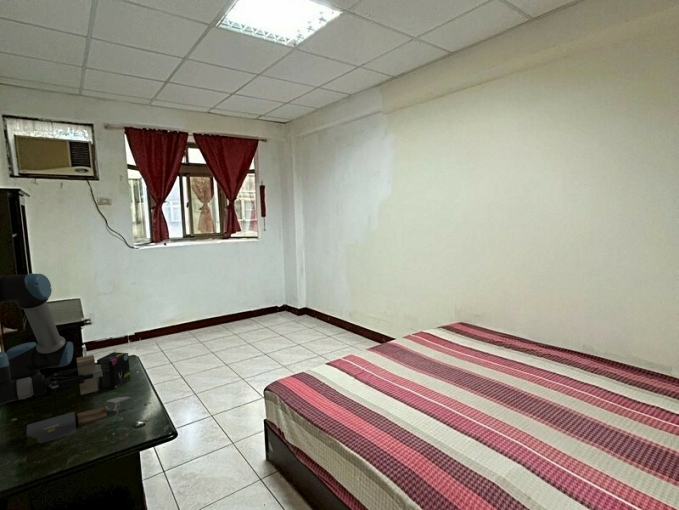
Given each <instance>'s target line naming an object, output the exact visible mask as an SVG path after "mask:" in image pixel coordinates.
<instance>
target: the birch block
mask: <svg viewBox="0 0 679 510" xmlns="http://www.w3.org/2000/svg"><path fill="white" fill-rule="evenodd" d="M95 359H96V358H95V356H94V354H90V355H85V356H80V357H76V365H77V367H76V368H78V376H79V375H83V376H84V374H85V373H89V372H93V371H96V367H95V366H96V360H95ZM97 378H98V377H97ZM97 378H93V379H89V380H85V381H84V383H81V384H79V391H80V392H79V393H80V396H82V395H86V394H89V393H93V392H98V391H99V386H98V379H97Z"/></svg>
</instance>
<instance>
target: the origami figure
mask: <svg viewBox="0 0 679 510" xmlns="http://www.w3.org/2000/svg"><path fill="white" fill-rule="evenodd" d="M129 400H131V401H133V402H134V403H132V404H131V409H134V407H133V406H134V405H136V403H138V402H137V401H136V400H135V399H134V398H133V397H132V396H120V397H117V396H116V397H114V398H111V399H108V400H105V404H104V406H105V409H107V411H110V408H109V407H108V403H109V404H114V408H113V410H112V411H113V412H116V413H115V414H114V415H115V416H116V415H118V414H119V412H120V410H118V409H117V408H120V406H121V405H120V404H121V403H123V402H126V401H129Z"/></svg>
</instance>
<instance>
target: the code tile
mask: <svg viewBox="0 0 679 510" xmlns="http://www.w3.org/2000/svg"><path fill="white" fill-rule="evenodd" d="M76 424H77V423H76V415H75V411H72V412H68V413H65V414H61V415H57V416H54V417H50V418H47V419H44V420H39V421H37V422H32V423H29V424H27V425H26V433H25V435H26V434H27V435H28V436H31V437H32V438H33V437H34V438H37V440H38V441H37V442H38V443H40V444H45V443H47V442H51V441H53V440H57V439H59V438H63V437H66V436H71V435H73V434H77V426H76ZM40 444H39V445H40Z"/></svg>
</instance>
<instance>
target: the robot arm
mask: <svg viewBox="0 0 679 510" xmlns="http://www.w3.org/2000/svg"><path fill="white" fill-rule="evenodd" d="M52 291H53V290H52V283H51V281H50V279H49V278H48V277H47V276H46V275H45V274H42V273H27V274H10V275H9V274H7V275H0V305H2V304H3V303H11V302H15V303H16V306H17V308H18V309H21V310H23V311H24V313H25V316H26V318H27V321H28V323H29V325H30V328H31V329H32V330H31V331H33V334H34V337H35V338H36V341H37V342H34V341H31V342H30V341H29V342H26V343H22V344H19V345H15V346H12V347H11V348H9V349H7V350H6V352H4V351H0V405H4V404H7V403H10V402H14V401H19V400H26V399H27V398H31V397H32V396H39V395H44V394H46V393H47V389H51V391H56V390H59V389H64V388H68V387H72V386H77V385H80V384H81V383H84V381H85V380H89V379H93V378H99V377H101V376H103V373H102V370H101V365H97V364H95V367H96V371H93V372H89V373H85V374H84V376H83V375H79V376H78V367H76V368H75V367H74V368H72V369H67V370H63V371H60V372H59V371H58V372H53V373H51V376H47V377H45V374H42V373H41V371H40V370H43V369H53V368H60V367H65V366H68V365H69V364H70V363H71V362H72V359H73V356H74V343H73V342H72V341H66V338H65V337H64V336H62V335H60V333H59V331H58V328H57V326H56V323H55V321H54V317H53V315H52V313H51V310H50V308H49V305H48V301H49V298H50V297H51V294H52Z"/></svg>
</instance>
